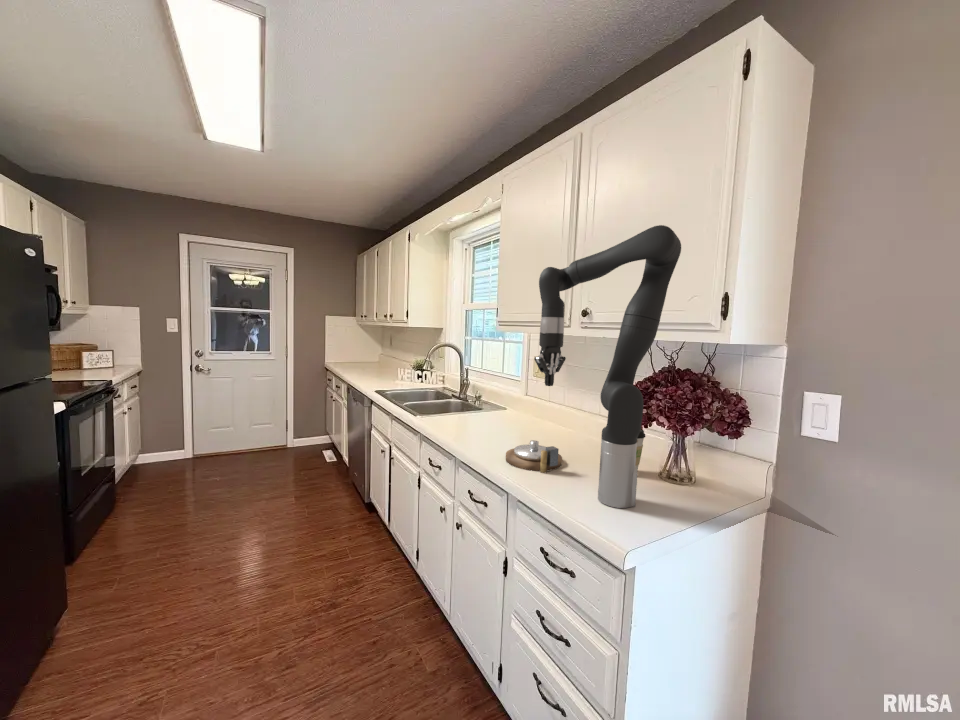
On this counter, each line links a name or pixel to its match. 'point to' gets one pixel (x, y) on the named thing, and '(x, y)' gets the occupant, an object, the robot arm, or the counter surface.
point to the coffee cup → (639, 448)
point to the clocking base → (531, 462)
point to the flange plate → (537, 452)
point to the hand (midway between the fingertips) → (549, 385)
